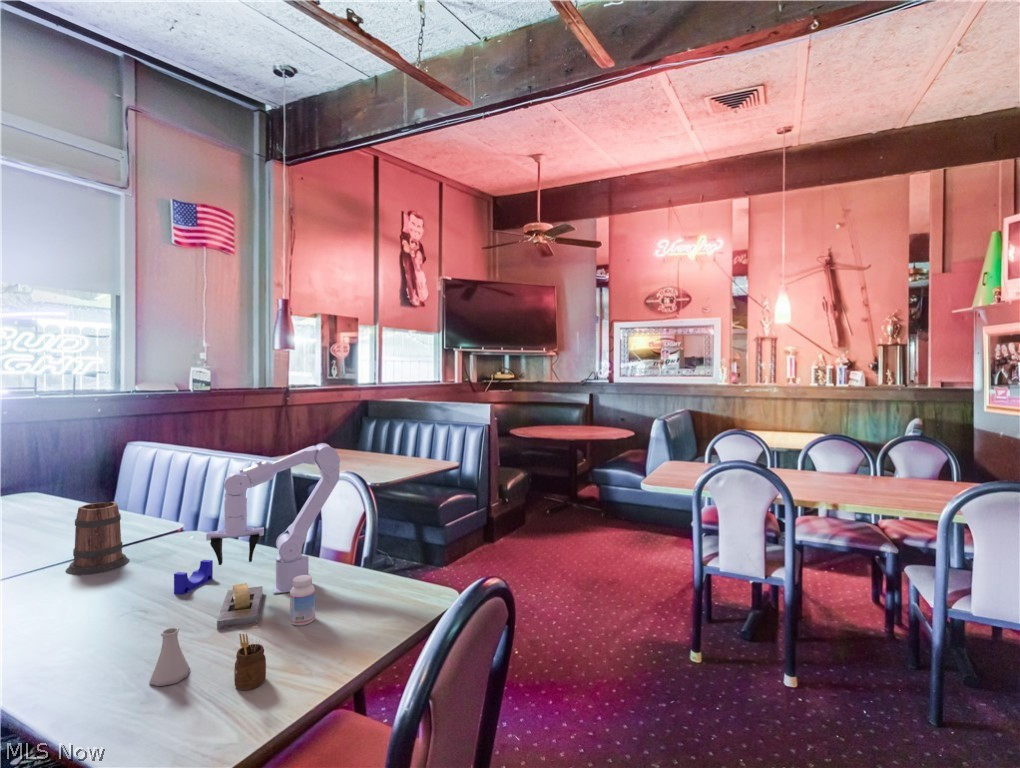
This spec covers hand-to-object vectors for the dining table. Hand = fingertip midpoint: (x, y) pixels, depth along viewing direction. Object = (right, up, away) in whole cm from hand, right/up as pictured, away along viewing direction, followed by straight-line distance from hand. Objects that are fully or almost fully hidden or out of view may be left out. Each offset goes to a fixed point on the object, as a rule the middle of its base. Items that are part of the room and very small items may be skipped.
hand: (235, 562), depth 153 cm
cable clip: (-17, -10, +8) cm, 21 cm away
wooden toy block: (+6, -10, -8) cm, 14 cm away
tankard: (-60, -9, +25) cm, 65 cm away
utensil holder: (+24, -12, -42) cm, 50 cm away
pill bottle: (+25, -11, -14) cm, 30 cm away
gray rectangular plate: (+6, -10, -8) cm, 14 cm away
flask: (+7, -11, -40) cm, 42 cm away
